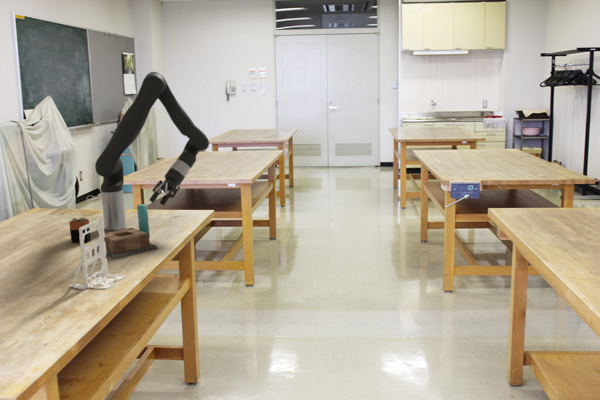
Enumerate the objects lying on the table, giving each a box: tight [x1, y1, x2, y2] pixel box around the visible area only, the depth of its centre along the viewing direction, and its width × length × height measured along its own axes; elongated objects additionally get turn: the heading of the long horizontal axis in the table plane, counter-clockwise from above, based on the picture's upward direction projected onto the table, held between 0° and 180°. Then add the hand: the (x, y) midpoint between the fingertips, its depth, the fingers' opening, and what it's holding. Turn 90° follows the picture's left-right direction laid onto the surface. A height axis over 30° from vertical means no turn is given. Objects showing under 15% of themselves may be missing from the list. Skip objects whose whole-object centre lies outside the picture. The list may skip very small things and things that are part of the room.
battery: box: [68, 217, 92, 244], centre depth 242 cm, size 4×7×10 cm, turn 90°
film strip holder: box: [69, 218, 126, 290], centre depth 191 cm, size 14×14×20 cm
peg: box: [137, 203, 151, 239], centre depth 245 cm, size 4×4×14 cm
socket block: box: [92, 227, 158, 260], centre depth 229 cm, size 18×18×6 cm
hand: (156, 202), depth 248 cm, fingers open, 8 cm apart
